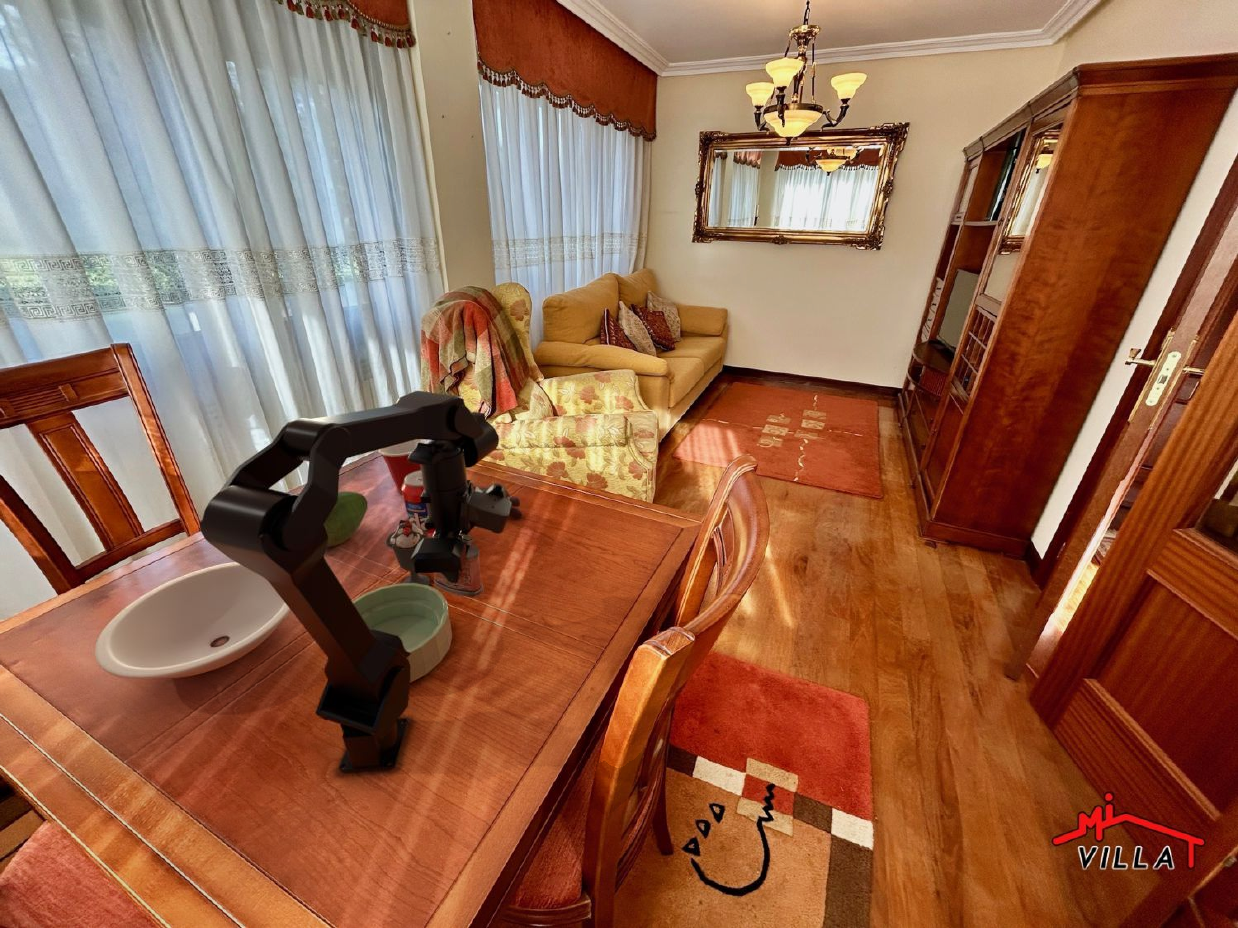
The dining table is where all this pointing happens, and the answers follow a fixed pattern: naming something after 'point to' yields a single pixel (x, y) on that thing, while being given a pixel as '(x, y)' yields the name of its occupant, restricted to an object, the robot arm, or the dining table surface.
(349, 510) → the fruit
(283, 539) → the robot arm
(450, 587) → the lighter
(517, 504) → the icecream
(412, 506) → the soda can
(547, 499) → the dining table surface
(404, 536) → the sundae
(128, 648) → the white sink basin
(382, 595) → the bowl
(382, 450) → the plastic cup
